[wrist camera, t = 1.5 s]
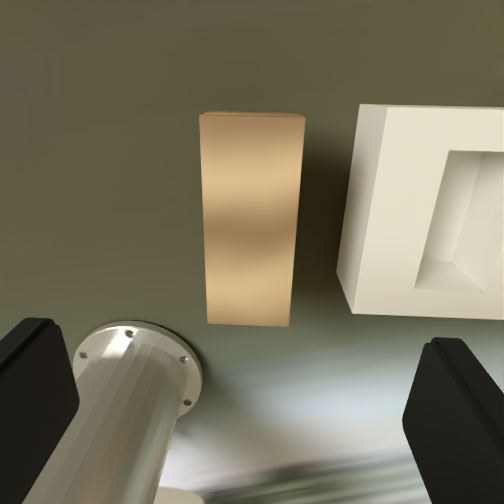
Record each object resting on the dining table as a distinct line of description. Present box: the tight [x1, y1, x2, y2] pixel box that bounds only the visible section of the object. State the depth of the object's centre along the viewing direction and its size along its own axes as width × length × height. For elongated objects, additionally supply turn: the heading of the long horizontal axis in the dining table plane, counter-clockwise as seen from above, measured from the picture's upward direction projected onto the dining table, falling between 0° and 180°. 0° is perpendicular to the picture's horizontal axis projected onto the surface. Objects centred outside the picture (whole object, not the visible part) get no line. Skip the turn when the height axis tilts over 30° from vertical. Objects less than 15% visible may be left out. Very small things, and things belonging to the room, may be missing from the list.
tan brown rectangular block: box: [199, 111, 305, 327], centre depth 22 cm, size 12×5×8 cm, turn 179°
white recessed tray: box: [336, 104, 504, 320], centre depth 23 cm, size 13×12×6 cm
